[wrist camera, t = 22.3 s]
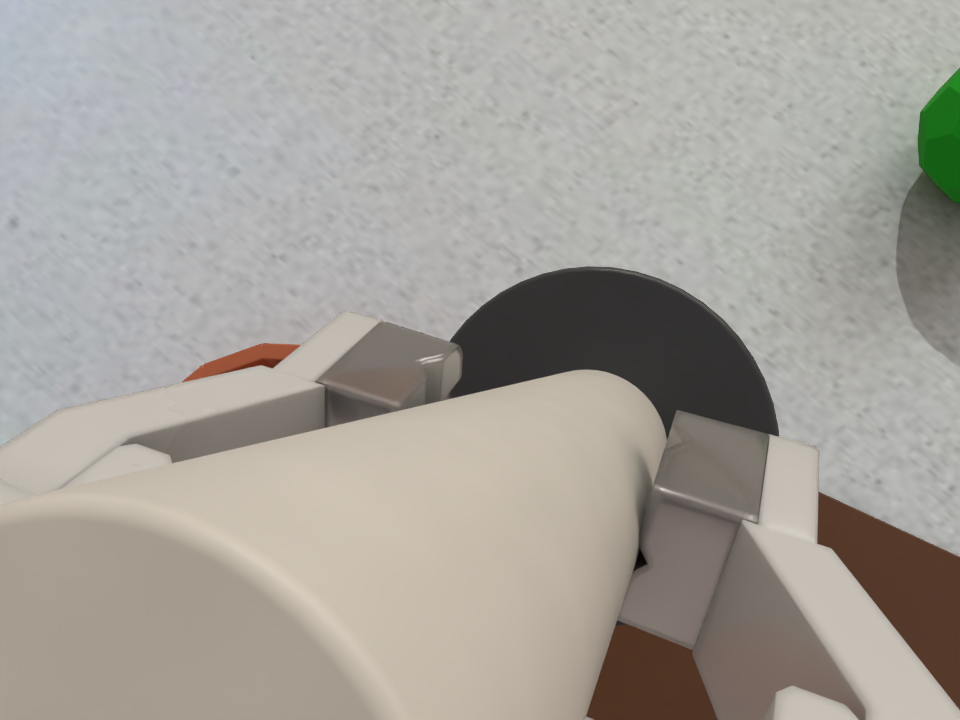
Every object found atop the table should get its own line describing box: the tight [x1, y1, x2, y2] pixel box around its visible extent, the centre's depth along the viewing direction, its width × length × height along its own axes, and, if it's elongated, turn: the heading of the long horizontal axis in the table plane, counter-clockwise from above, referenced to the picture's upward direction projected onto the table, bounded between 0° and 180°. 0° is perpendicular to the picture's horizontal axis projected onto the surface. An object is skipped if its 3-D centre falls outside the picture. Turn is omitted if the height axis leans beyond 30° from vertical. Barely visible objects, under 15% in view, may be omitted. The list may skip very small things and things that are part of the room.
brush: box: [0, 267, 779, 720], centre depth 9 cm, size 6×6×14 cm
